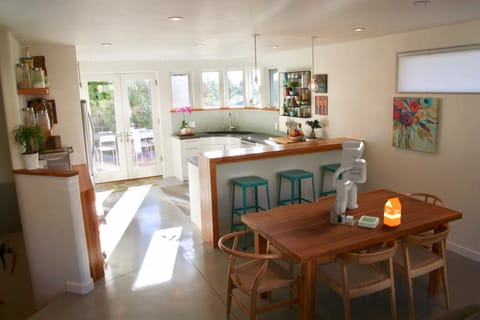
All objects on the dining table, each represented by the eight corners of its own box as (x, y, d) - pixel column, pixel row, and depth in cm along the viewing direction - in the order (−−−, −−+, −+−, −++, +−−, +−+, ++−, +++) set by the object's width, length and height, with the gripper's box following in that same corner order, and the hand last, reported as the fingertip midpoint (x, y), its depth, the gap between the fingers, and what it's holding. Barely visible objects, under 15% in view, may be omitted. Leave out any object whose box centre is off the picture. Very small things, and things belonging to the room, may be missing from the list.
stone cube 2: (347, 221, 304) (347, 215, 303) (353, 222, 302) (353, 216, 301) (345, 222, 300) (345, 217, 300) (351, 223, 298) (351, 218, 297)
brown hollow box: (335, 217, 314) (336, 201, 311) (357, 221, 305) (358, 204, 302) (329, 223, 302) (330, 206, 299) (352, 227, 293) (352, 209, 290)
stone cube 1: (339, 219, 308) (339, 214, 307) (344, 220, 305) (344, 215, 304) (337, 221, 304) (337, 216, 303) (342, 222, 302) (343, 216, 301)
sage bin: (362, 220, 306) (363, 215, 306) (378, 223, 300) (379, 218, 299) (358, 226, 295) (358, 221, 294) (374, 229, 289) (374, 223, 288)
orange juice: (383, 223, 300) (385, 198, 296) (392, 221, 303) (394, 196, 299) (391, 226, 293) (392, 200, 289) (400, 224, 296) (401, 199, 292)
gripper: (340, 194, 310) (339, 216, 314) (333, 200, 296) (332, 223, 299) (349, 196, 306) (349, 218, 310) (343, 202, 292) (342, 225, 295)
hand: (341, 220), depth 304 cm, fingers open, 5 cm apart
